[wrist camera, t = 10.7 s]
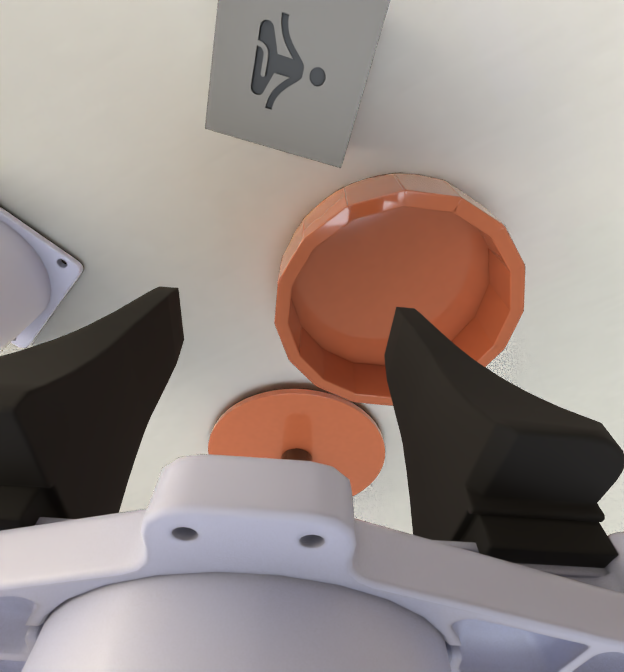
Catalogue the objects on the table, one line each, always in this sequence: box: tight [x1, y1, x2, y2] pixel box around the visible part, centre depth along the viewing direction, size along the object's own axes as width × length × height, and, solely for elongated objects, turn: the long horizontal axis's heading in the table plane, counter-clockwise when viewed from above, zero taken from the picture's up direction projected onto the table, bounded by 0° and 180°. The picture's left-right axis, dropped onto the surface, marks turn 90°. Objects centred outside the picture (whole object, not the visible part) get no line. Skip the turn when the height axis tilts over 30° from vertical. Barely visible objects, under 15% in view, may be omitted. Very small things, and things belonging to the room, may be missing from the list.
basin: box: [274, 173, 525, 406], centre depth 22 cm, size 12×12×3 cm
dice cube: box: [205, 0, 390, 168], centre depth 15 cm, size 5×5×5 cm
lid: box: [208, 389, 385, 496], centre depth 29 cm, size 13×13×5 cm
